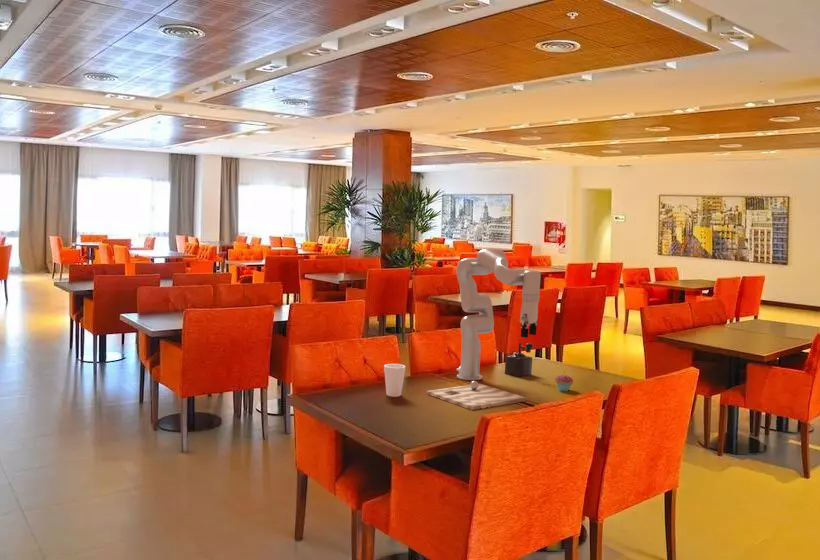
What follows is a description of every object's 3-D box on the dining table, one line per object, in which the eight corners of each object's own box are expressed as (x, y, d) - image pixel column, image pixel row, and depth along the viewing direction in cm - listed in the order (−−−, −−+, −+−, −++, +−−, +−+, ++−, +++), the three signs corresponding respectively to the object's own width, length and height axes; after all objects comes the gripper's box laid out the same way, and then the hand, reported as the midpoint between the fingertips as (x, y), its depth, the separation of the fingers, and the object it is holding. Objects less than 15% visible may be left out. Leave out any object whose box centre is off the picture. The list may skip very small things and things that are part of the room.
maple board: (426, 394, 316) (427, 390, 316) (479, 386, 335) (479, 383, 335) (471, 410, 292) (472, 406, 292) (525, 400, 312) (526, 397, 312)
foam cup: (393, 398, 306) (395, 369, 305) (378, 394, 312) (379, 365, 311) (408, 395, 313) (409, 366, 312) (393, 391, 319) (394, 362, 318)
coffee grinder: (503, 373, 367) (505, 339, 365) (515, 371, 375) (517, 337, 373) (528, 379, 356) (530, 344, 355) (540, 376, 364) (542, 341, 363)
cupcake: (572, 392, 331) (574, 367, 330) (554, 391, 332) (555, 366, 331) (572, 388, 339) (573, 364, 338) (554, 387, 341) (555, 362, 340)
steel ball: (467, 389, 323) (468, 380, 322) (474, 388, 325) (474, 379, 325) (473, 391, 320) (474, 382, 319) (480, 390, 322) (480, 381, 322)
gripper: (530, 295, 325) (527, 332, 326) (515, 298, 310) (513, 337, 312) (545, 297, 321) (543, 334, 322) (531, 300, 306) (529, 339, 308)
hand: (528, 335), depth 317 cm, fingers open, 9 cm apart
